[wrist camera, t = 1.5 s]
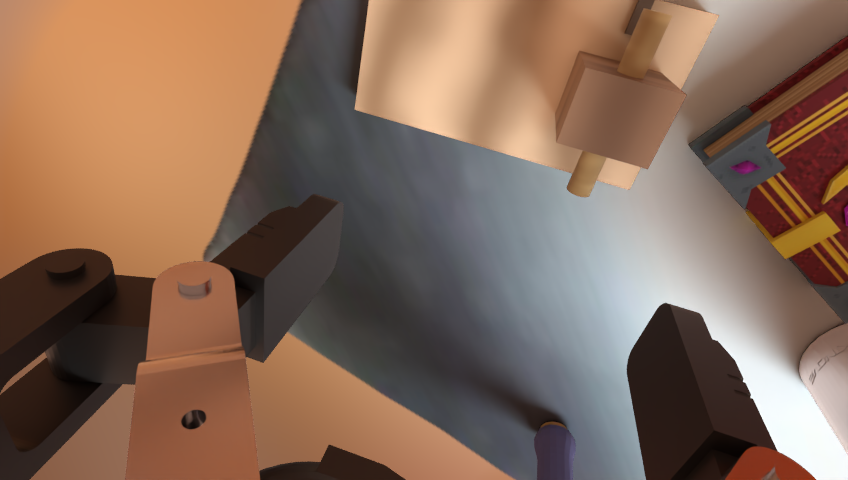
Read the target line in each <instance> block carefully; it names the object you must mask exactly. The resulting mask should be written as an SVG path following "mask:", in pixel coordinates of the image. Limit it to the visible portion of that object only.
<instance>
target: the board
mask: <svg viewBox="0 0 848 480" xmlns="http://www.w3.org/2000/svg"><path fill="white" fill-rule="evenodd" d="M643 8H645V9H649V10H653V11H657V12H661V13H665V14H668V15H672V18H671V20H670V23H669V25H668V27H667V29H666V31H665V33H664V36H663V38H662V40H661V42H660V44H659V46H658V49H657V51H656V53H655V55H654V57H653V59H652V61H651V64H650V66H649V68H648V69H650V70H654V71H658V72H661V73H662V74H664V75H665V76H666V77H667V78H668V79H669V80H670V81H671V82H673V83H674V84H675V85H676V86H677V87H678V88H679V89H682V87H683V85H684V83H685V81H686V79H687V77H688V75H689V73H690V71H691V69H692V67H693V65H694V63H695V61H696V60H697V58H698V56H699V54H700V52H701V50H702V48H703V46H704V44H705V42H706V40H707V38H708V36H709V34H710V32H711V30H712V28H713V26H714V25H715V23H716V21H717V19H718V17H719V15H716V14H712V13H708V12H704V11H700V10H696V9H692V8H689V7H685V6H681V5H677V4H673V3H669V2H665V1H661V0H369V4H368V11H367V19H366V27H365V35H364V42H363V50H362V58H361V65H360V73H359V81H358V89H357V96H356V104H355V110H358V111H361V112H365V113H368V114H371V115H375V116H378V117H382V118H385V119H388V120H392V121H395V122H399V123H402V124H406V125H409V126H412V127H416V128H419V129H423V130H426V131H430V132H433V133H436V134H440V135H443V136H447V137H450V138H453V139H457V140H460V141H464V142H467V143H471V144H474V145H477V146H481V147H484V148H488V149H491V150H494V151H498V152H501V153H505V154H508V155H512V156H515V157H518V158H522V159H525V160H529V161H532V162H535V163H539V164H542V165H546V166H549V167H553V168H556V169H559V170H563V171H566V172H570V173H573V172H574V169H575V167H576V165H577V162H578V160H579V158H580V155H581V153H582V151H583V150H579V149H576V148H572V147H569V146H565V145H562V144H558V143H556V125H555V113H556V110H557V108H558V105H559V102H560V100H561V97H562V94H563V92H564V89H565V86H566V84H567V81H568V79H569V76H570V73H571V71H572V68H573V65H574V63H575V60H576V57H577V55H578V52H579V51H583V52H587V53H591V54H594V55H598V56H602V57H605V58H609V59H613V60H617V61H620V62H621V60H622V57H623V55H624V53H625V50H626V48H627V46H628V43H629V41H630V39H631V36H632V34H633V32H634V29H635V27H636V25H637V22H638V20H639V18H640V15H641V13H642V11H643ZM640 168H641V167H638V166H635V165H631V164H628V163H624V162H621V161H617V160H614V159H611V158H607V159H606V161H605V163H604V165H603V167H602V169H601V171H600V174H599V176H598V178H597V181H600V182H604V183H607V184H611V185H614V186H618V187H621V188H624V189H628V190H630V188H631V186H632V184H633V182H634V180H635V178H636V176H637V174H638V172H639V170H640Z"/></svg>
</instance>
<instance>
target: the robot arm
mask: <svg viewBox="0 0 848 480" xmlns="http://www.w3.org/2000/svg"><path fill="white" fill-rule="evenodd" d="M343 214H344V205H343V203H342V202H339V201H336V200H333V199H330V198H326V197H323V196H320V195H317V194H313V195H311V196H310V197H309V198H308V199H307V200H306V201H305V202H303V203H302V204H301V205H300V206H299V207H298V208H294V207H290V206H288V207H285V208H282V209H279V210H276V211H274V212H271V213H269V214H268V215H267V216H266V217H265V218H263V219H262V220H261V221H260V222H258V225H255V226H253V227H252V228H251V229H250V230H249V231H248V232H247V234H246V233H245V234H244V235H242V236H241V237H240V238H239V239H238V240H236V241H235V242H234V243H233V244H231V245H230V246H229V247H228V248H226V249H225V250H224V251H223V252H222V253H220V254H219V255H218V256H217V257H215V258H214V259H213V260H212V261H210V262H203V261H197V262H196V261H194V262H187V263H182V264H179V265H175V266H173V267H171V268H169V269H167V270H165V271H164V272H162V273H161V274H160V275H159V276H158V277H157V278H145V277H135V276H124V275H115V274H114V269H113V264H112V261H111V259H110V258H109V257H108V256H107V255H106V254H104V253H102V252H99V251H96V250H92V249H66V250H59V251H55V252H52V253H48V254H45V255H42V256H40V257H38V258H36V259H34V260H32V261H30V262H29V263H27V264H25V265H24V266H22V267H20V268H18V269H17V270H15V271H13V272H12V273H10V274H8V275H6V276H5V277H3V278H1V279H0V392H1V390H2V389H3V387H4V386H5V385H6V383H7V382H8V381H9V380H10V379H11V378H12V377H13V376H14V375H15V374H17V373H18V372H19V371H20V370H22V369H23V368H24V367H26V366H27V365H28V364H30V363H31V362H32V361H33V360H35V359H36V358H37V357H38V356H40V355H41V354H42V353H43V352H45V353H46V356H47V358H45V359H44V360H43V361H42V362H41V363H39V364H38V365H37V366H35V367H34V368H33V369H32V370H30V371H29V372H28V373H27V374H25V375H24V376H23V377H22V378H20V379H19V380H18V381H17V382H15V383H14V384H13V385H12V386H11V387H9V388H8V389H7V390H6V391H5V392H3V393H2V394H1V395H0V480H29V479H31V477H33V476H34V474H35V473H36V472H37V471H38V470H39V469H40V468H41V467H42V466H43V465H44V464H45V463H46V462H47V461H48V460H49V459H50V458H51V457H52V456H53V455H54V454H55V453H56V452H57V451H58V450H59V449H60V448H61V447H62V446H63V445H64V444H65V443H66V442H67V441H68V440H69V438H71V437H72V436H73V435H74V434H75V432H76V431H77V430H78V429H79V428H80V427H81V426H82V425H83V424H84V423H85V422H86V421H87V420H88V419H89V418H90V417H91V416H92V415H93V414H94V413H95V412H96V411H97V410H98V409H99V408H100V407H101V406H102V405H103V404H104V403H105V402H106V400H108V399H109V398H110V397H111V396H112V394H114V392H115V391H116V390H117V389H118V388H119V387H120V386H121V385H122V384H135V393H134V401H133V411H132V419H131V429H130V437H129V447H128V455H127V456H128V457H127V465H126V474H125V480H405V479H404V478H402V477H401V476H399V475H398V474H397V473H395V472H394V471H392V470H391V469H390V468H388V467H387V466H385V465H383V464H380V463H377V462H375V461H372V460H369V459H367V458H364V457H361V456H358V455H356V454H353V453H350V452H348V451H345V450H342V449H339V448H337V447H334V446H331V445H329V446H328V448H327V450H326V452H325V454H324V456H323V458H322V460H321V462H293V463H287V464H280V465H277V466H273V467H269V468H266V469H263V470H260V471H259V465H258V457H257V448H256V440H255V432H254V425H253V415H252V408H251V399H250V390H249V382H248V374H247V365H246V357H249V358H252V359H254V360H257V361H260V362H263V363H264V361H265V360H266V359H267V357H268V356H269V355H270V354H271V352H272V351H273V350H274V348H275V347H276V346H277V344H278V343H279V342H280V340H281V339H282V338H283V336H284V335H285V334H286V333H287V331H288V330H289V329H290V327H291V326H292V325H293V323H294V322H295V321H296V320H297V318H298V317H299V316H300V314H301V313H302V312H303V310H304V309H305V308H306V306H307V305H308V304H309V303H310V301H311V300H312V299H313V297H314V296H315V295H316V293H317V292H318V291H319V290H320V288H321V287H322V286H323V284H324V283H325V282H326V280H327V279H328V278H329V276H330V275H331V273H332V272H333V270H334V267H335V265H336V262H337V259H338V254H339V247H340V238H341V230H342V222H343ZM799 372H800V376H801V379H802V381H803V383H804V384H805V386H806V388H807V389H808V391H809V392H810V394H811V396H812V397H813V399H814V400H815V402H816V404H817V405H818V407H819V409H820V410H821V412H822V413H823V415H824V417H825V419H826V420H827V422H828V424H829V425H830V427H831V429H832V430H833V432H834V433H835V435H836V437H837V438H838V440H839V441H840V443H841V445H842V446H843V448H844V449H845V451H846V453H847V454H848V323H847V324H843V325H841V326H838V327H836V328H833V329H831V330H830V331H828V332H826V333H824V334H823V335H821V336H820V337H818V338H817V339H816V340H815V341H814V342H813V343H811V344H810V345H809V347H808V348H807V349H806V351H805V352H804V353H803V356H802V358H801V361H800V366H799ZM627 376H628V382H629V387H630V393H631V399H632V404H633V410H634V415H635V421H636V426H637V432H638V437H639V443H640V448H641V454H642V459H643V465H644V471H645V476H646V480H816V479H815V478H814V477H813V476H812V475H811V474H810V473H809V472H808V471H807V470H806V469H804V468H803V467H802V466H801V465H799V464H798V463H796V462H795V461H794V460H792V459H791V458H789V457H787V456H785V455H784V454H782V453H779V452H778V451H777V449H776V447H775V445H774V443H773V441H772V439H771V437H770V434H769V432H768V430H767V428H766V426H765V424H764V422H763V420H762V417H761V415H760V413H759V411H758V409H757V407H756V405H755V403H754V400H753V399H751V398H750V396H751V394H750V392H749V390H748V388H747V386H746V383H744V382H743V377H742V375H741V373H740V371H739V369H738V366H737V364H736V362H735V360H734V359H733V358H732V357H731V356H730V355H729V353H728V352H727V351H726V350H725V349H724V348H723V347H722V345H721V344H720V343H719V342H718V341H715V340H712V338H711V336H710V333H709V331H708V329H707V326H706V324H705V322H704V319H703V317H702V316H701V314H699V313H697V312H694V311H691V310H687V309H684V308H681V307H678V306H674V305H671V304H668V303H664V304H662V305H661V306H659V308H658V309H657V310H656V312H655V313H654V315H653V317H652V318H651V320H650V321H649V323H648V325H647V326H646V328H645V329H644V331H643V332H642V334H641V336H640V337H639V339H638V340H637V342H636V344H635V345H634V347H633V349H632V350H631V353H630V355H629V359H628V364H627Z"/></svg>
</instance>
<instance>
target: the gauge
mask: <svg viewBox="0 0 848 480" xmlns="http://www.w3.org/2000/svg"><path fill="white" fill-rule="evenodd" d="M671 18H672V15H668V14H665V13H661V12H657V11H653V10H649V9H645V8H643V11H642V13H641V15H640V18H639V20H638V22H637V25H636V27H635V29H634V32H633V34H632V36H631V39H630V41H629V43H628V46H627V48H626V50H625V53H624V55H623V57H622V60H621V62H620V61H617V60H613V59H609V58H605V57H602V56H598V55H594V54H591V53H587V52H583V51H579V52H578V55H577V57H576V60H575V63H574V65H573V68H572V71H571V73H570V76H569V79H568V81H567V84H566V86H565V89H564V92H563V94H562V97H561V100H560V102H559V105H558V108H557V110H556V113H555V125H556V143H558V144H562V145H565V146H569V147H572V148H576V149H579V150H583V151H582V153H581V155H580V158H579V160H578V162H577V165H576V167H575V169H574V172H573V174H572V176H571V179H570V181H569V183H568V186H567V190H568V191H569V192H571V193H572V194H574V195H577V196H580V197H588V196H589V195H590V193H591V191H592V189H593V187H594V184H595V182H596V180H597V178H598V176H599V174H600V171H601V169H602V167H603V165H604V163H605V161H606V159H607V158H611V159H614V160H617V161H621V162H624V163H628V164H631V165H635V166H638V167H642V168H645V169H648V168H649V166H650V164H651V162H652V160H653V158H654V156H655V154H656V153H657V151H658V149H659V147H660V145H661V143H662V141H663V139H664V137H665V135H666V133H667V132H668V130H669V128H670V126H671V124H672V122H673V120H674V118H675V116H676V114H677V113H678V111H679V109H680V107H681V105H682V103H683V101H684V99H685V97H686V94H685V93H684V92H683V91H682V90H681V89H679V88H678V87H677V86H676V85H675V84H674V83H673V82H671V81H670V80H669V79H668V78H667V77H666V76H665V75H664V74H662V73H661V72H658V71H654V70H650V69H648V68H649V66H650V64H651V61H652V59H653V57H654V55H655V53H656V51H657V49H658V46H659V44H660V42H661V40H662V38H663V36H664V33H665V31H666V29H667V27H668V25H669V23H670V20H671Z"/></svg>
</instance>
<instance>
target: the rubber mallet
mask: <svg viewBox="0 0 848 480" xmlns="http://www.w3.org/2000/svg"><path fill="white" fill-rule="evenodd" d="M534 446H535V451H536V455H537V460H538V465H537V480H573V460H574V456H575V451H576V445H575V439H574V438H573V436H572V435H571V433H570V432H569V430H568V429H567V428H566V426H564V425H562V424H561V423H557V422H546V423H544V424H543V425H541V427H540V429H539V431H538V432H537V434H536V436H535V438H534Z"/></svg>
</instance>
